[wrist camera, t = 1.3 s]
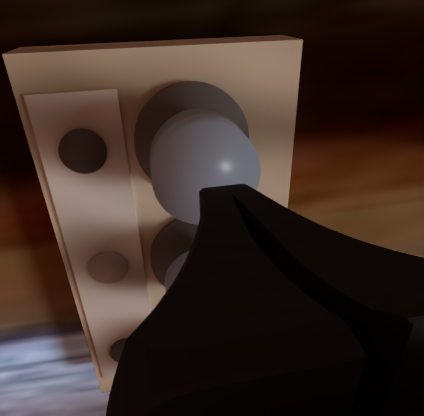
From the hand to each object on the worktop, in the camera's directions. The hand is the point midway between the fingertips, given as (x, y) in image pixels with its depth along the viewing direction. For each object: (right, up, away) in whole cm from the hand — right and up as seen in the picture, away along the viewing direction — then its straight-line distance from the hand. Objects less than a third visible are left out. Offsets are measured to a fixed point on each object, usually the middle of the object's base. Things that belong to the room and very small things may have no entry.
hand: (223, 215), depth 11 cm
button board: (-3, -1, +11) cm, 11 cm away
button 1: (-1, +2, +4) cm, 5 cm away
